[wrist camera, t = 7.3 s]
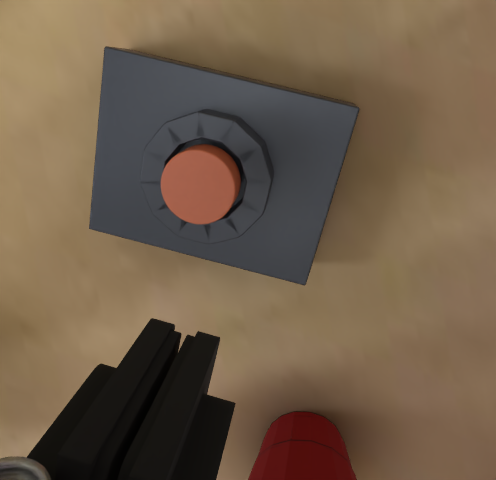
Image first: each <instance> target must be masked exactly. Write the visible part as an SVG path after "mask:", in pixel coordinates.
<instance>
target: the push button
mask: <svg viewBox="0 0 496 480" xmlns="http://www.w3.org/2000/svg"><path fill="white" fill-rule="evenodd" d="M240 186H241V178H240V172H239V169H238V167H237V165H236V163H235V161H234V160H233V158H232V157H231V156H230V155H229V154H228V153H226V152H225V151H224V150H222V149H220V148H218V147H216V146H213V145H208V144H198V145H194V146H191V147H189V148H187V149H185V150H183V151H182V152H180V153H178V154H177V155H175V156H174V157H173V158H172V159H171V160H170V161H169V162H168V163H167V164H166V166H165V168H164V170H163V173H162V177H161V192H162V195H163V198H164V201H165V203H166V204H167V206H168V208H169V209H170V210H171V211H172V212H173V213H174V214H175V215H176V216H177V217H179V218H180V219H182V220H184V221H186V222H189V223H193V224H209V223H212V222H215V221H217V220H219V219H221V218H222V217H223V216H224V215H226V214H227V212H228V211H229V210H230V208H231V207H232V205H233V203H234V202H235V200H236V198H237V196H238V194H239V191H240Z"/></svg>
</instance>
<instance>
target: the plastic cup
mask: <svg viewBox="0 0 496 480" xmlns="http://www.w3.org/2000/svg"><path fill="white" fill-rule="evenodd" d="M248 480H357V479H356V475H355V473H354V471H353V470H352V467H351V463H350V460H349V456H348V453H347V449H346V446H345V443H344V441H343V439H342V437H341V435H340V433H339V432H338V430H337V428H336V426H335V425H333V424H332V423H331V422H330V421H328V420H327V419H326V418H325V417H322V416H319V415H317V414H314V413H311V412H292V413H289V414H286V415H283V416H281V417H279V418H278V419H277V420H276V421H274V422H273V423H272V424H271V426H270V428H269V429H268V431H267V433H266V435H265V438H264V440H263V443H262V446H261V449H260V452H259V455H258V457H257V459H256V461H255V464H254V466H253V468H252V471H251V473H250V476H249V479H248Z"/></svg>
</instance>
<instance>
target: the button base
mask: <svg viewBox="0 0 496 480" xmlns="http://www.w3.org/2000/svg"><path fill="white" fill-rule="evenodd" d="M359 110H360V109H359V107H357V106H356V105H355V104H353V103H350V102H346V101H342V100H338V99H334V98H329V97H325V96H321V95H317V94H313V93H309V92H305V91H300V90H296V89H292V88H288V87H284V86H280V85H275V84H271V83H267V82H263V81H259V80H255V79H251V78H246V77H242V76H238V75H234V74H230V73H226V72H221V71H217V70H213V69H209V68H205V67H201V66H197V65H192V64H188V63H184V62H180V61H176V60H172V59H167V58H163V57H159V56H155V55H151V54H147V53H143V52H138V51H134V50H130V49H122V48H115V47H107V46H106V47H105V49H104V61H103V73H102V84H101V96H100V108H99V120H98V131H97V143H96V155H95V166H94V178H93V190H92V201H91V213H90V225H89V229H92V230H96V231H100V232H103V233H107V234H111V235H115V236H119V237H122V238H126V239H130V240H134V241H138V242H141V243H145V244H149V245H153V246H157V247H161V248H164V249H168V250H172V251H176V252H180V253H183V254H187V255H191V256H195V257H199V258H203V259H206V260H210V261H214V262H218V263H222V264H225V265H229V266H233V267H237V268H241V269H244V270H248V271H252V272H256V273H260V274H264V275H267V276H271V277H275V278H279V279H283V280H286V281H290V282H294V283H298V284H302V285H306V282H307V279H308V276H309V273H310V269H311V266H312V263H313V259H314V256H315V253H316V250H317V246H318V243H319V240H320V237H321V233H322V230H323V227H324V224H325V220H326V217H327V214H328V211H329V207H330V204H331V201H332V198H333V194H334V191H335V188H336V185H337V181H338V178H339V175H340V172H341V168H342V165H343V162H344V158H345V155H346V152H347V149H348V145H349V142H350V139H351V136H352V132H353V129H354V126H355V123H356V119H357V116H358V113H359ZM198 144H208V145H213V146H216V147H218V148H220V149H222V150H224V151H225V152H226V153H228V154H229V155H230V156H231V157H232V158H233V160H234V161H235V163H236V165H237V167H238V169H239V172H240V178H241V186H240V191H239V194H238V196H237V198H236V200H235V202H234V203H233V205H232V207H231V208H230V210H229V211H228V212H227V214H226V215H224V216H223V217H222V218H221V219H219V220H217V221H215V222H212V223H209V224H193V223H189V222H186V221H184V220H182V219H180V218H179V217H177V216H176V215H175V214H174V213H173V212H172V211H171V210H170V209H169V208H168V206H167V204H166V203H165V201H164V198H163V195H162V192H161V177H162V173H163V170H164V168H165V166H166V164H167V163H168V162H169V161H170V160H171V159H172V158H173V157H174V156H175V155H177V154H178V153H180V152H182V151H183V150H185V149H187V148H189V147H191V146H194V145H198Z"/></svg>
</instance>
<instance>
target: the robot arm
mask: <svg viewBox="0 0 496 480" xmlns="http://www.w3.org/2000/svg"><path fill="white" fill-rule="evenodd" d="M174 329H175V325H174V324H171V323H167V322H164V321H160V320H157V319H153V318H152V319H151V320H150V321H149V322H148V324H147V325H146V326H145V328H144V329H143V331H142V332H141V334H140V335H139V337H138V338H137V339H136V341H135V342H134V344H133V345H132V347H131V348H130V350H129V351H128V353H127V354H126V355H125V357H124V358H123V360H122V361H121V363H120V364H119V366H118V367H117V368H114V367H111V366H108V365H104V364H100V365H98V366H97V367H96V368H95V369H94V370H93V371H92V373H91V374H90V375H89V377H88V378H87V379H86V381H85V382H84V383H83V384H82V386H81V387H80V388H79V390H78V391H77V392H76V394H75V395H74V396H73V398H72V399H71V400H70V401H69V403H68V404H67V405H66V407H65V408H64V409H63V411H62V412H61V413H60V415H59V416H58V417H57V418H56V420H55V421H54V422H53V424H52V425H51V426H50V428H49V429H48V430H47V431H46V433H45V434H44V435H43V437H42V438H41V439H40V441H39V442H38V443H37V445H36V446H35V447H34V448H33V450H32V451H31V452H30V454H29V455H28V456H27V458H26V457H5V458H1V459H0V480H216V478H217V474H218V470H219V466H220V462H221V458H222V454H223V450H224V446H225V443H226V439H227V435H228V431H229V427H230V423H231V419H232V415H233V411H234V407H235V403H234V402H230V401H227V400H223V399H220V398H217V397H213V396H210V395H207V392H208V388H209V384H210V380H211V375H212V371H213V367H214V363H215V359H216V355H217V350H218V346H219V342H220V337H217V336H213V335H210V334H206V333H203V332H199V331H198V332H197V334H196V336H195V337H194V336H190V335H187V336H186V338H185V340H184V342H183V344H182V346H181V348H180V350H179V352H178V349H179V344H180V339H181V333H180V332H176V331H174Z"/></svg>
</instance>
